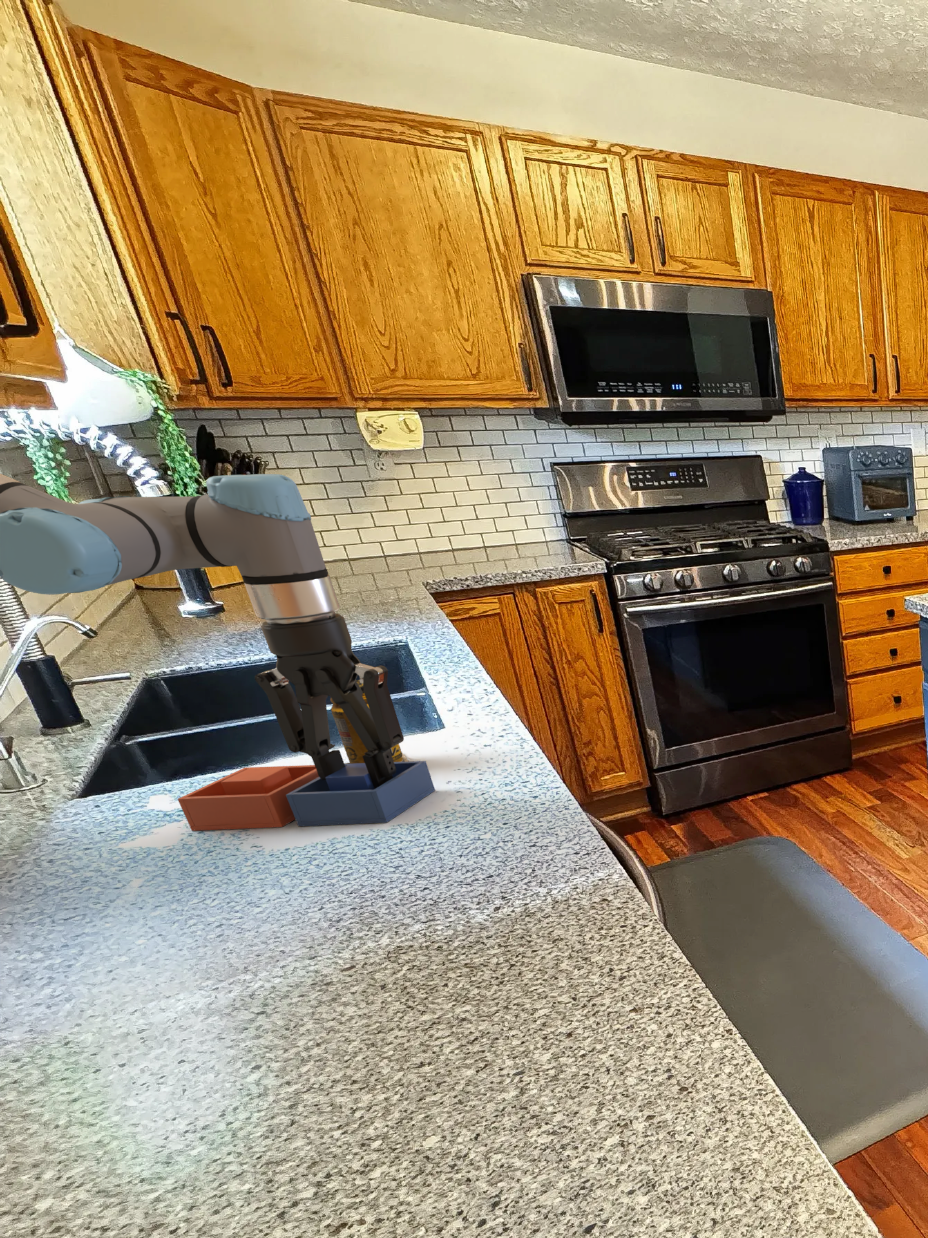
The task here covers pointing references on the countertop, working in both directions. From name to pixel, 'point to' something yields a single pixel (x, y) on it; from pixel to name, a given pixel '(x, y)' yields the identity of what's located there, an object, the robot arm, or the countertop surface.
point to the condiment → (351, 738)
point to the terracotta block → (257, 781)
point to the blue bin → (361, 798)
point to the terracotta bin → (243, 804)
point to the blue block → (350, 779)
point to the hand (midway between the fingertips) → (368, 800)
